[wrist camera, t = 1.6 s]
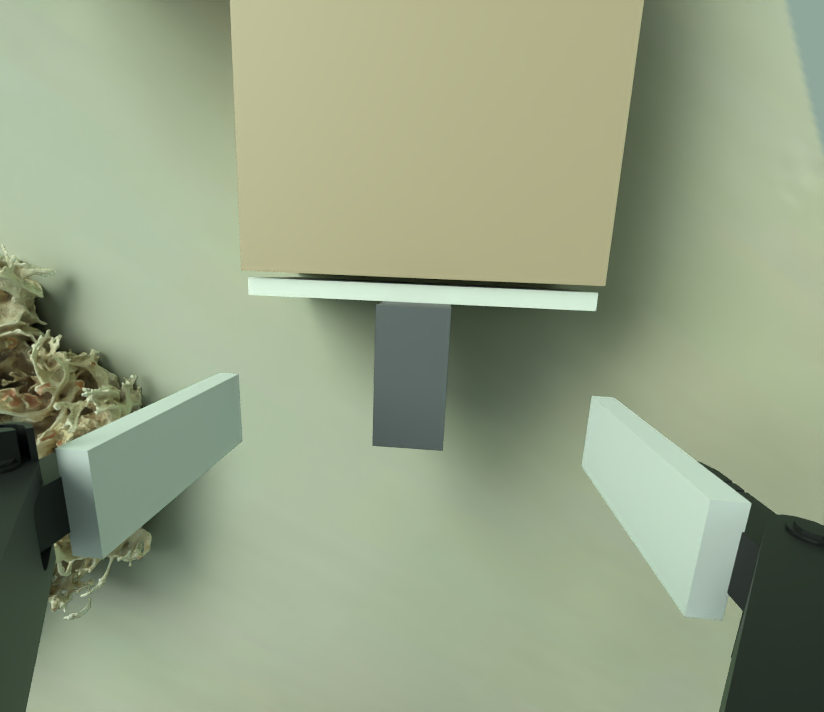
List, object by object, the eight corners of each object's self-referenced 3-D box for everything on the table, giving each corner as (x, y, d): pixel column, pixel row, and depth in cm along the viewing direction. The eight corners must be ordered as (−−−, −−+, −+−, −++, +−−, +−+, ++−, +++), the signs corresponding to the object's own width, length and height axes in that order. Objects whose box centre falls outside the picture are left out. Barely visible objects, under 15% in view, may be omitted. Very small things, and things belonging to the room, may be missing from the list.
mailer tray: (547, 401, 25) (598, 462, 17) (295, 385, 26) (228, 435, 18) (607, -120, 19) (723, -400, 11) (286, -113, 20) (185, -364, 12)
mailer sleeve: (559, 283, 24) (605, 286, 17) (296, 271, 25) (241, 270, 18) (604, -126, 20) (689, -337, 13) (290, -119, 21) (216, -309, 14)
